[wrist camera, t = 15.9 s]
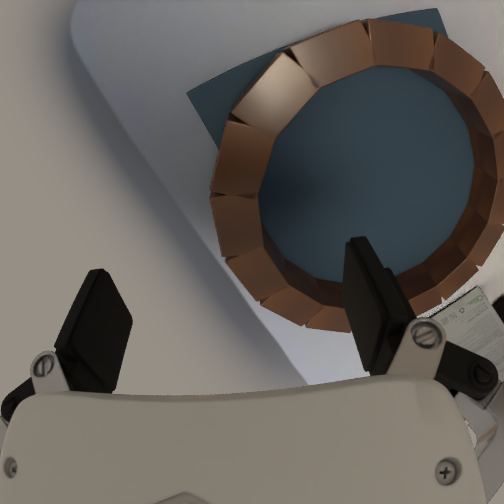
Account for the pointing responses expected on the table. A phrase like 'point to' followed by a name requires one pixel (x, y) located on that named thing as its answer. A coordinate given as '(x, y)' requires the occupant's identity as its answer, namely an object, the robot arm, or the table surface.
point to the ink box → (475, 327)
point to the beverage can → (499, 308)
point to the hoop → (290, 104)
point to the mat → (358, 163)
